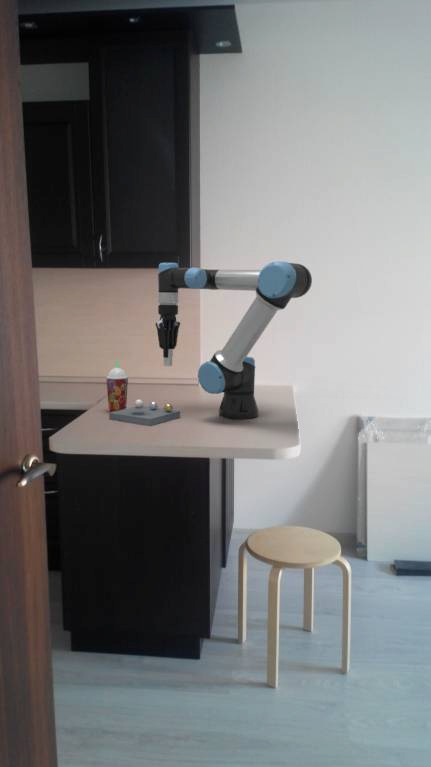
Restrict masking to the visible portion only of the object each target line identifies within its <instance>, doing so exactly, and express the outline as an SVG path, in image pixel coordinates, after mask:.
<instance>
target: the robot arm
mask: <svg viewBox="0 0 431 767" xmlns="http://www.w3.org/2000/svg"><path fill="white" fill-rule="evenodd" d="M157 272H158V273H157V281H158V282H157V283H158V296H157V298H158V299H157V300H158V301H157V302H158V306H157V308H158V309H157V312H158V315H160V316H159V321H158V322H155V327H156V330H157V331H156V332H157V337H158V338H157V339H158V345H159V348H160V349H161V350H163V351H162V353H163V354H162V356H163V366H164V367H172V366H173V353H174V352H173V350H175V349H176V347H177V345H178V344H177V342H178V337H179V329H180V326H181V322H180V321H177V317H176V316H177V315H178V314H179V305H178V304H179V290H180V289H185V290H186V289H188V290H189V289H190V290H213V291H216V290H217V291H218V290H220V291H222V290H224V291H227V290H228V291H251V292H255V295H256V296H255V298H254V300H253V301H252V303H251V304H250V306H249V307H248V309H247V311H246V312H245V314H244V315H243V317H242V318H241V320H240V322H239V323H238V325H237V326H236V328H235V329H234V331H233V332H232V333H231V335H230V337H229V338H228V339H227V341H226V343H225V345H224V346H223V348H222V349H219V350H216V351H215V353H214V354H213V355H212V357H211V359H210V360H209V361H205V362H204V363H202V364H201V365H200V366H199V368H198V371H197V378H198V384H199V385H200V387H201V388H202V389H203V390H204V392H206V393H208V394H211V395H215V394H217V395H218V394H221V393H223V397H222V399H221V403H220V406H219V408H218V416H220V417H222V418H226V419H237V420H238V419H240V420H243V419H244V420H245V419H253V418H257V417H259V409H258V405H257V401H256V397H255V378H256V377H255V376H256V374H255V373H256V365H255V364H256V362H255V361H256V360H255V358H254V357H252V356H248V355H249V354H250V352H251V350H252V349H253V348H254V346H255V345H256V343H257V342H258V341H259V339H260V338H261V336H262V334H263V333H264V332H265V330H266V328H267V327H268V325H269V324H270V323H271V321H272V320H273V318H274V317H275V315H276V314H277V312H278V311H281V310H284V309H286V307H287V306H288V305H289V302H290V301H291V299H296V298H301V297H303V296H305V295H306V294H307V293H308V292H309V291H310V289H311V287H312V282H313V279H312V277H313V276H312V274H311V272H310V270H309V269H308V267H306V266H304V265H303V264H300V263H293V262H288V261H280V260H279V261H272V262H270V263H267V264H266V265H265V266H263V267H262V269H205V268H202V267H182V268H181V267H180V268H179V264H178V263H176V262H160V263H159V264H158V270H157Z"/></svg>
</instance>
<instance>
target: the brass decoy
mask: <svg viewBox="0 0 431 767" xmlns="http://www.w3.org/2000/svg"><path fill="white" fill-rule="evenodd" d="M173 407H174V406H173V405H172V404H171V403H165V405H164V407H163V409H165V411H166V412H171V411H172V410H174V408H173Z"/></svg>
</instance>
